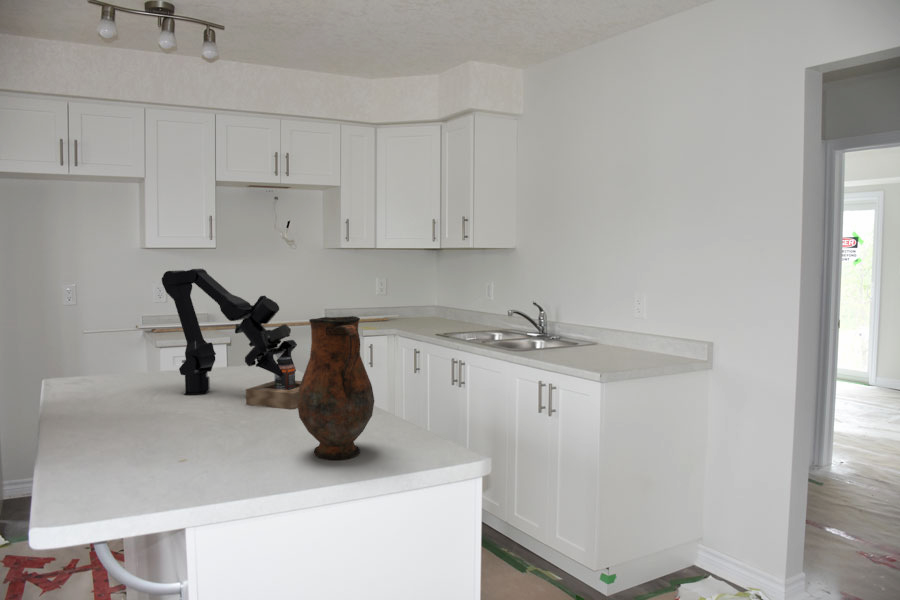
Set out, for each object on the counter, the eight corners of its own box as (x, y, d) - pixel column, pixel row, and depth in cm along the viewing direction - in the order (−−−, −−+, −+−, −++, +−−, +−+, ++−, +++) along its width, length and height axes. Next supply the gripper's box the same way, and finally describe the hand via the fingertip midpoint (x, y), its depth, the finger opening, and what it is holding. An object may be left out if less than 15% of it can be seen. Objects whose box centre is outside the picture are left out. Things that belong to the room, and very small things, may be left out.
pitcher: (358, 438, 159) (356, 312, 157) (394, 463, 141) (393, 320, 139) (288, 448, 152) (285, 315, 149) (317, 475, 133) (314, 324, 131)
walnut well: (246, 404, 195) (245, 389, 194) (279, 393, 210) (279, 379, 209) (292, 409, 189) (292, 393, 189) (323, 397, 204) (323, 382, 203)
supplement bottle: (297, 393, 202) (297, 356, 201) (292, 397, 196) (292, 359, 195) (277, 393, 202) (277, 356, 201) (272, 397, 196) (271, 359, 195)
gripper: (252, 319, 190) (285, 360, 187) (291, 313, 208) (322, 351, 204) (230, 345, 194) (262, 386, 191) (270, 337, 211) (300, 375, 208)
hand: (288, 373), depth 198 cm, fingers closed on supplement bottle, 6 cm apart
